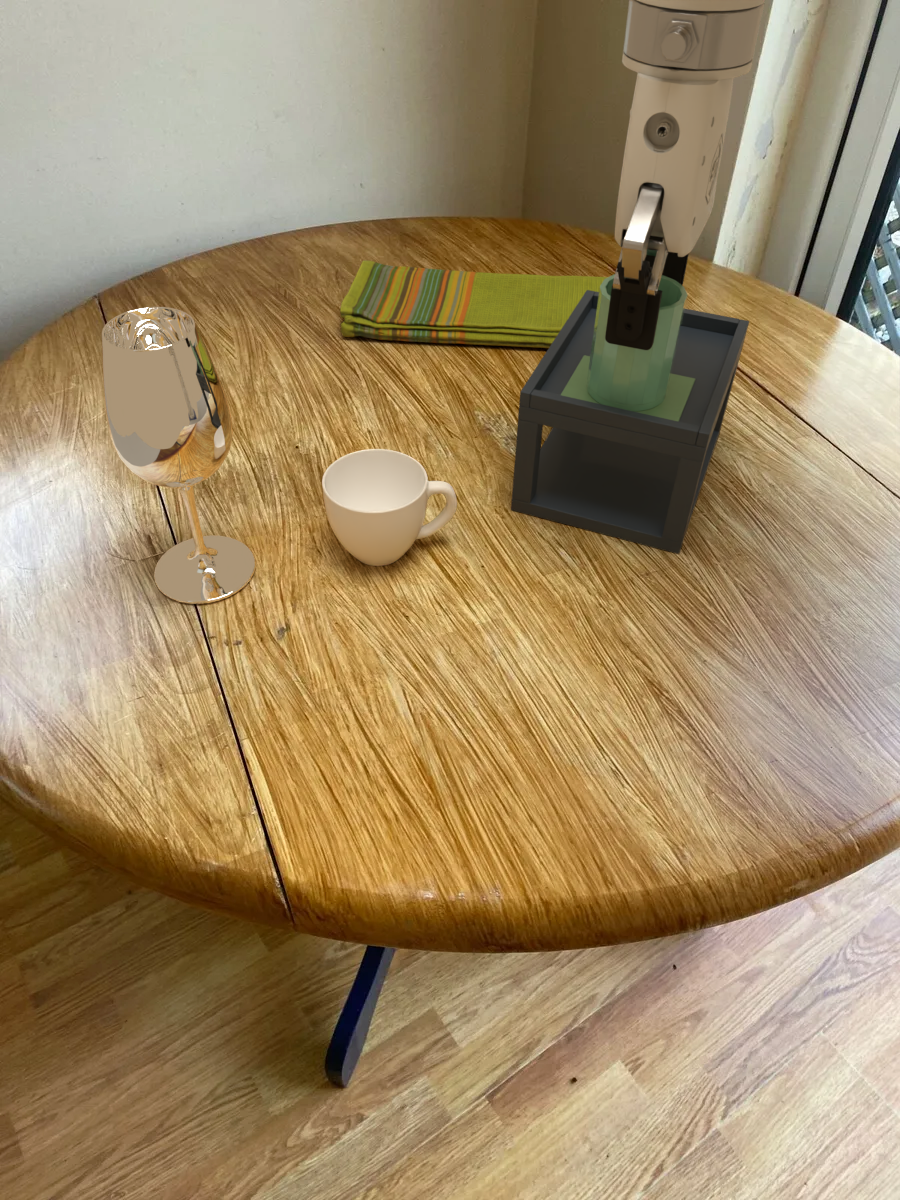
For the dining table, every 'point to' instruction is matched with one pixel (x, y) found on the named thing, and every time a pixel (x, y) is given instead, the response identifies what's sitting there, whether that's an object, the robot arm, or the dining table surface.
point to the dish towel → (460, 305)
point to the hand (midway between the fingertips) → (645, 313)
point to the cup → (381, 504)
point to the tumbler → (635, 354)
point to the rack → (624, 435)
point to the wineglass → (173, 438)
